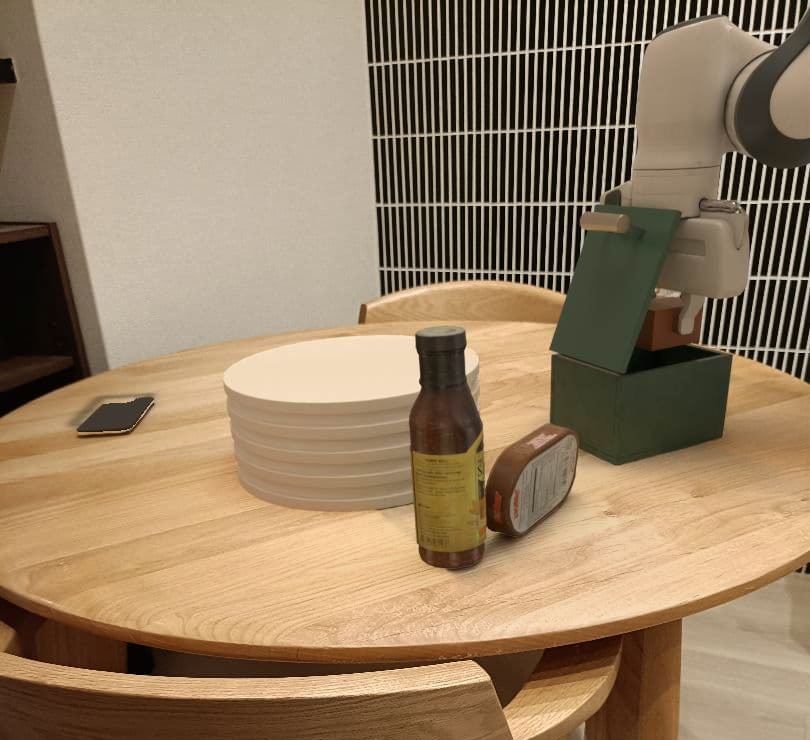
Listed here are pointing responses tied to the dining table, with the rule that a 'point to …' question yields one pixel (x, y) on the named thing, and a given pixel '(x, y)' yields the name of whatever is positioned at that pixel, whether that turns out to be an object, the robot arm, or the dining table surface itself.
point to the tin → (531, 479)
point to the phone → (115, 416)
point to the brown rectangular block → (665, 326)
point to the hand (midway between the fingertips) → (662, 328)
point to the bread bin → (642, 401)
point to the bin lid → (613, 283)
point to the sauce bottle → (447, 454)
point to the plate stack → (329, 421)
